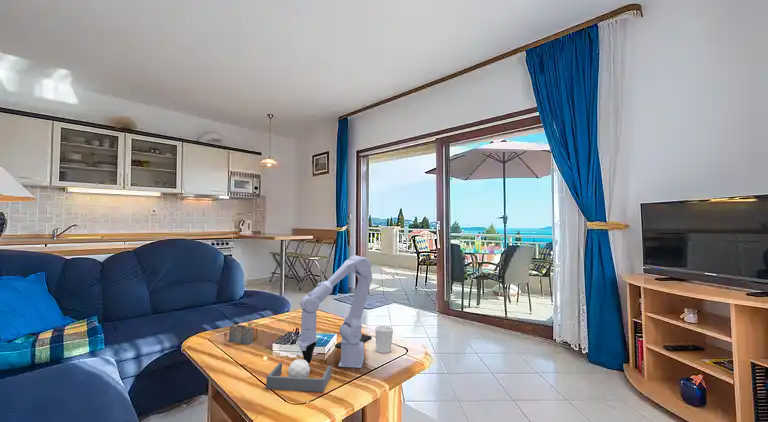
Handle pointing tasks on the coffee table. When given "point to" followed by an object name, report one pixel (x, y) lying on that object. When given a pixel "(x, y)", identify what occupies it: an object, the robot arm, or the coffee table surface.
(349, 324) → the robot arm
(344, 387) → the coffee table surface
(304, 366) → the geometric ball
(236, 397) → the coffee table surface
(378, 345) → the white cup
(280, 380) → the box
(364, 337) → the smart home device
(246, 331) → the ruin model on sheet
